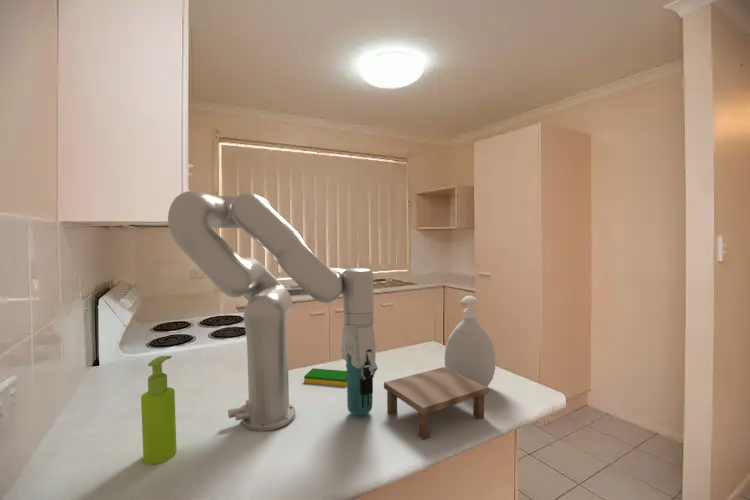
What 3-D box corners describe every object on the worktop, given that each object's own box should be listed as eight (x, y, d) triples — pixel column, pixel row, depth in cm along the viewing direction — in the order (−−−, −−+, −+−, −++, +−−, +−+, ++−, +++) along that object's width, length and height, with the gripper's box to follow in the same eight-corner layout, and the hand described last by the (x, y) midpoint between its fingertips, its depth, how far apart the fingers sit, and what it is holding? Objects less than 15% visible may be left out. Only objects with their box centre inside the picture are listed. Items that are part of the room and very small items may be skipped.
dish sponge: (312, 375, 118) (312, 367, 118) (353, 378, 115) (353, 371, 114) (303, 384, 111) (303, 376, 111) (346, 388, 108) (346, 379, 108)
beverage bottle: (361, 423, 86) (361, 341, 85) (341, 415, 90) (340, 336, 89) (378, 412, 92) (377, 334, 91) (358, 405, 96) (357, 330, 95)
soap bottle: (493, 381, 110) (494, 293, 109) (496, 393, 102) (497, 298, 101) (445, 378, 113) (445, 292, 112) (444, 388, 105) (444, 297, 104)
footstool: (423, 441, 79) (423, 408, 78) (384, 411, 92) (383, 382, 92) (487, 417, 89) (487, 387, 88) (443, 393, 103) (443, 367, 102)
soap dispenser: (184, 443, 79) (181, 353, 78) (167, 464, 72) (163, 364, 71) (156, 444, 79) (153, 353, 78) (136, 464, 72) (133, 365, 71)
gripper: (330, 313, 95) (331, 380, 96) (362, 327, 81) (363, 406, 81) (355, 310, 99) (356, 374, 100) (390, 323, 84) (390, 398, 85)
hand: (359, 388), depth 91 cm, fingers closed on beverage bottle, 6 cm apart
